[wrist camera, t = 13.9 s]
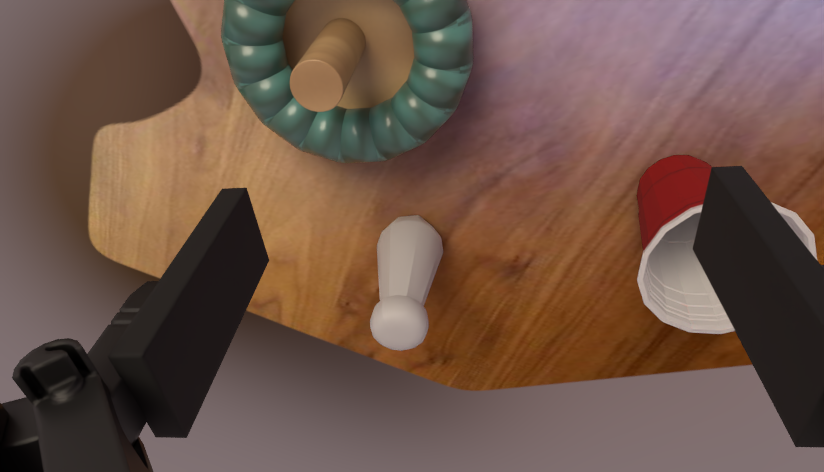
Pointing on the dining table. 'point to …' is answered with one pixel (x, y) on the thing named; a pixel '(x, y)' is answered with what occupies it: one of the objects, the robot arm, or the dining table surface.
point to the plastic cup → (683, 245)
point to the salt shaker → (405, 281)
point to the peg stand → (346, 52)
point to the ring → (360, 127)
